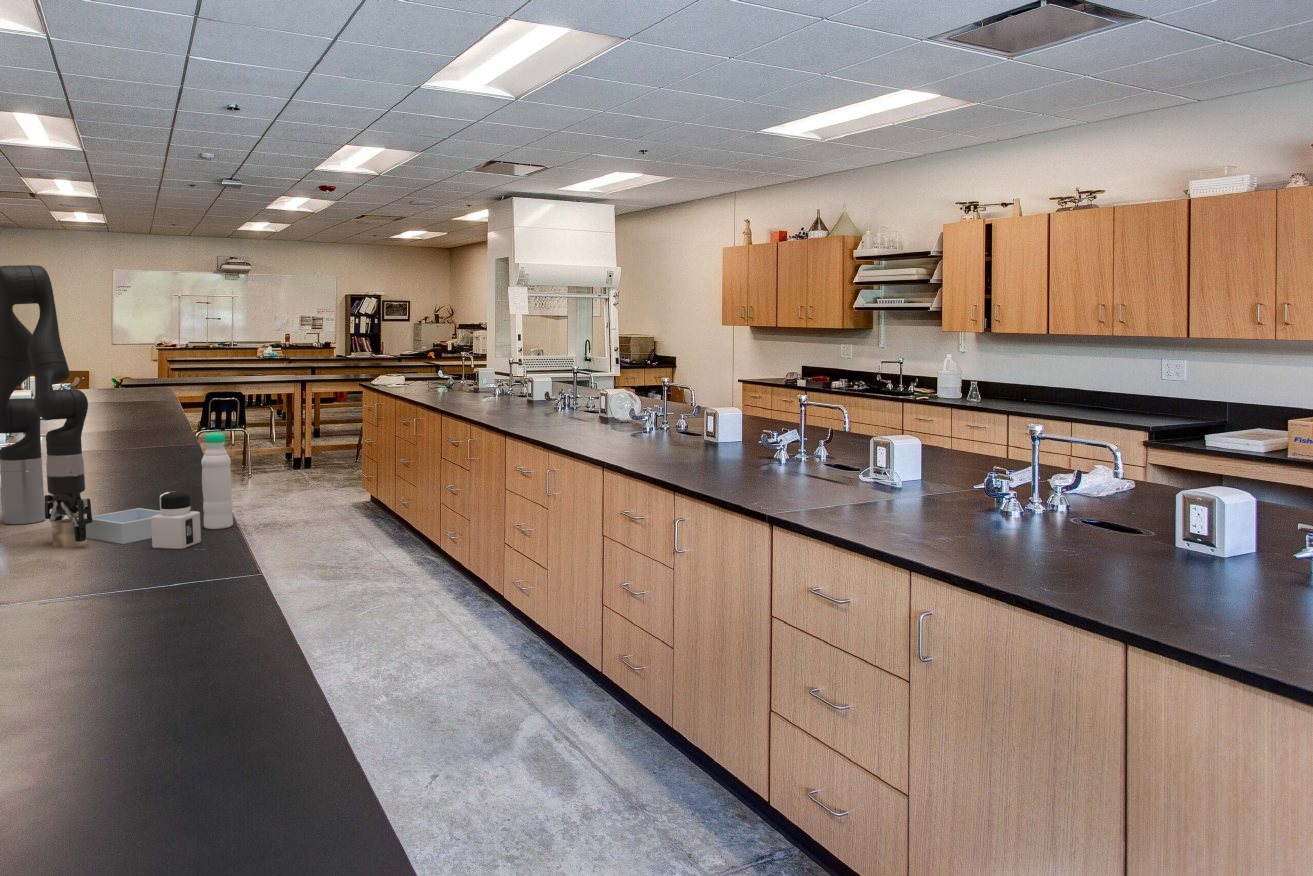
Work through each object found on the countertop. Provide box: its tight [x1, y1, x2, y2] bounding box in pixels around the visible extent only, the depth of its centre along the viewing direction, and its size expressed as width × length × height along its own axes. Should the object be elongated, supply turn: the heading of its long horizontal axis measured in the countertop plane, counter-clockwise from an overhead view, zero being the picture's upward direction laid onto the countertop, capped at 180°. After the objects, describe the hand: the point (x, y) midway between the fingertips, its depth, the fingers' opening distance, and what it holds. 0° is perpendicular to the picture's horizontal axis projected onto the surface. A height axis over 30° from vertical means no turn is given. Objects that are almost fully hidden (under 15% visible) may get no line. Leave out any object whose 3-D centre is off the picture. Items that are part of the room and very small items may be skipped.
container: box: [151, 490, 202, 550], centre depth 216 cm, size 8×8×13 cm
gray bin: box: [85, 507, 162, 545], centre depth 227 cm, size 15×15×5 cm
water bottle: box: [200, 432, 234, 530], centre depth 236 cm, size 7×7×25 cm
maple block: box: [50, 518, 88, 549], centre depth 215 cm, size 5×5×6 cm
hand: (69, 539), depth 215 cm, fingers open, 8 cm apart
